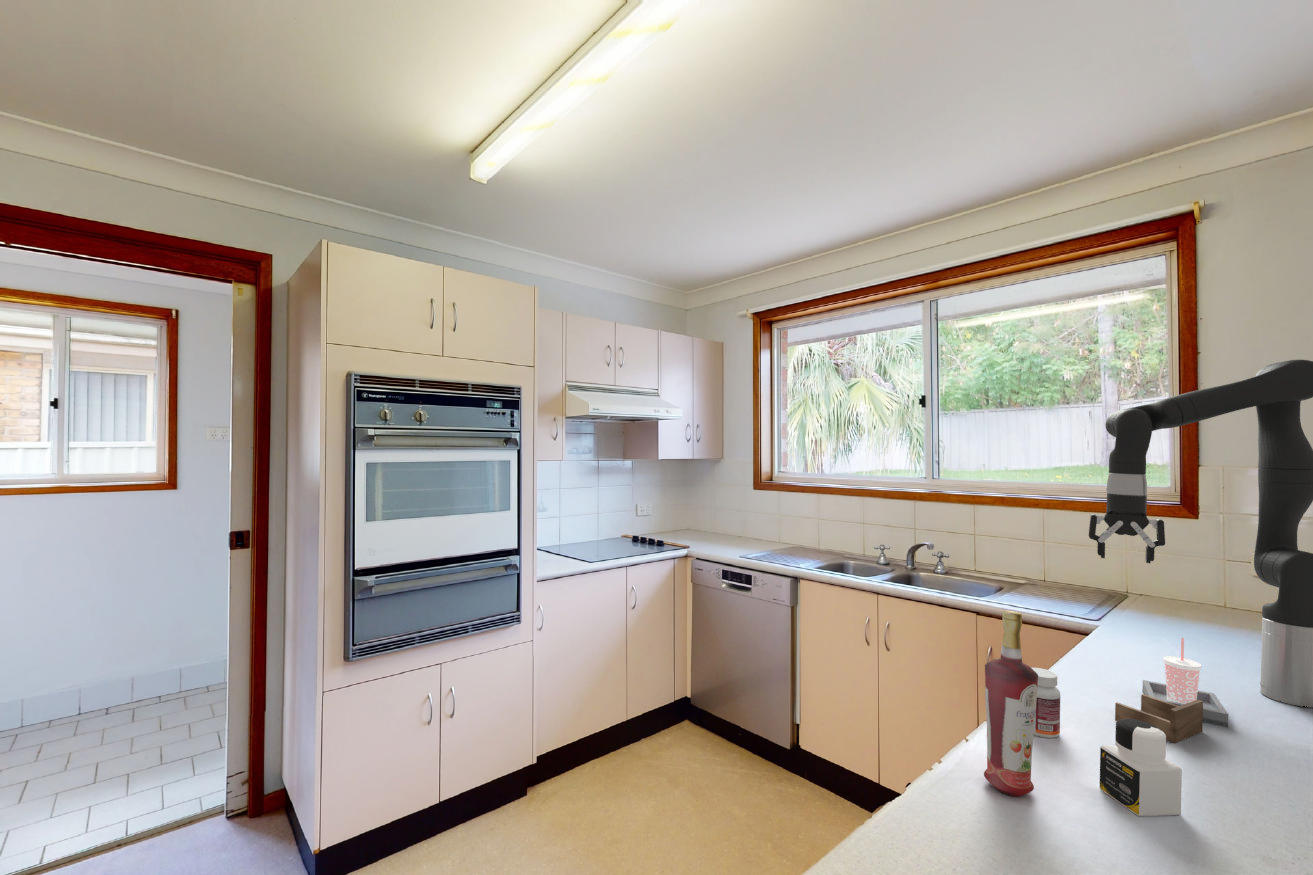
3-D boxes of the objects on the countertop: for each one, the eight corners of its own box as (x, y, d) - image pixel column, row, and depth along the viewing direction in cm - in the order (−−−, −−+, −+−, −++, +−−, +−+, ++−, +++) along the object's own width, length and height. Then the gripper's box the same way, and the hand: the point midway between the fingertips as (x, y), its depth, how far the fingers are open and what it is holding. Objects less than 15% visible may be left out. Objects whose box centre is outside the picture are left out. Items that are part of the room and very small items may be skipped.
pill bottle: (1065, 733, 113) (1066, 674, 113) (1050, 742, 109) (1051, 681, 110) (1030, 720, 118) (1032, 663, 118) (1015, 728, 115) (1016, 669, 115)
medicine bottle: (1098, 788, 95) (1099, 714, 95) (1139, 787, 95) (1141, 713, 95) (1138, 817, 88) (1139, 736, 88) (1182, 815, 88) (1184, 735, 88)
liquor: (1014, 806, 90) (1018, 621, 90) (971, 780, 96) (975, 608, 96) (1046, 796, 92) (1050, 617, 93) (1002, 771, 99) (1006, 604, 99)
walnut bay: (1202, 731, 115) (1203, 701, 115) (1174, 743, 110) (1175, 710, 110) (1142, 710, 124) (1143, 681, 124) (1115, 720, 119) (1115, 690, 119)
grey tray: (1214, 705, 127) (1214, 693, 127) (1228, 726, 117) (1228, 714, 117) (1142, 690, 134) (1142, 679, 134) (1149, 710, 124) (1150, 698, 124)
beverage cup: (1170, 706, 124) (1171, 640, 124) (1157, 695, 130) (1158, 631, 130) (1206, 712, 122) (1208, 644, 122) (1192, 700, 128) (1193, 635, 128)
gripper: (1090, 491, 142) (1089, 558, 142) (1168, 495, 135) (1166, 567, 135) (1088, 489, 149) (1087, 554, 149) (1162, 493, 141) (1161, 561, 141)
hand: (1125, 560), depth 142 cm, fingers open, 8 cm apart
